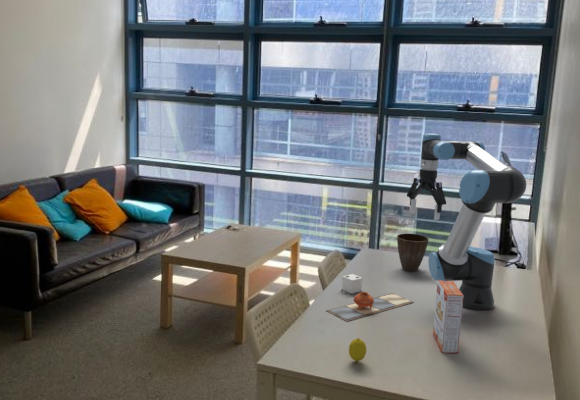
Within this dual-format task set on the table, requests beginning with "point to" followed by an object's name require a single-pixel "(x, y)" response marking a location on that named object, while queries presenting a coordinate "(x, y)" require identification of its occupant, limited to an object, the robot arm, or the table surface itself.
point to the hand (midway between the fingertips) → (424, 216)
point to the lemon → (357, 349)
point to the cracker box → (448, 316)
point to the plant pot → (411, 250)
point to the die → (352, 283)
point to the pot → (363, 300)
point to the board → (378, 306)
